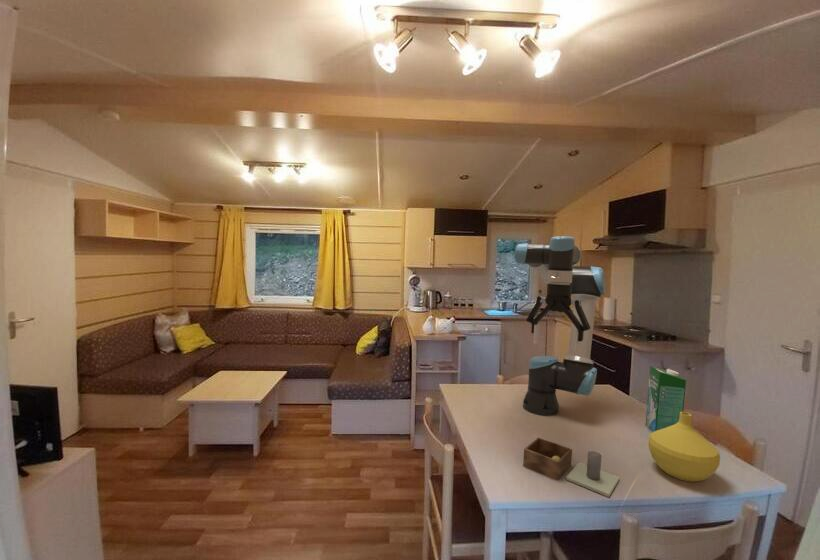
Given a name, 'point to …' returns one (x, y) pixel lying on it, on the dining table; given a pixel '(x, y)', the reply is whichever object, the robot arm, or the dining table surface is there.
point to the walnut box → (547, 458)
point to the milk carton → (664, 398)
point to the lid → (593, 475)
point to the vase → (683, 451)
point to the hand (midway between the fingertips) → (555, 347)
